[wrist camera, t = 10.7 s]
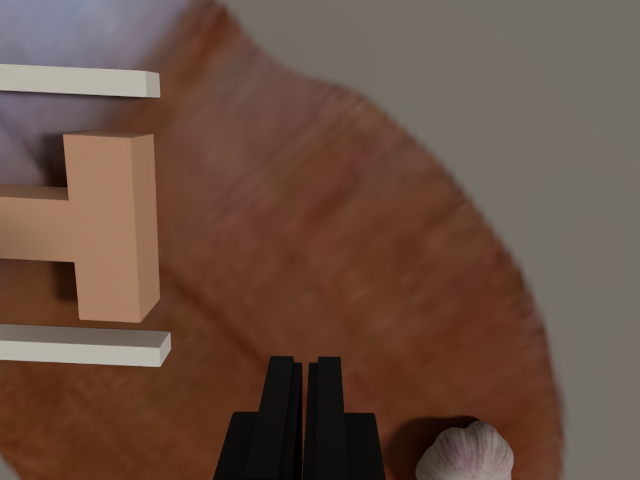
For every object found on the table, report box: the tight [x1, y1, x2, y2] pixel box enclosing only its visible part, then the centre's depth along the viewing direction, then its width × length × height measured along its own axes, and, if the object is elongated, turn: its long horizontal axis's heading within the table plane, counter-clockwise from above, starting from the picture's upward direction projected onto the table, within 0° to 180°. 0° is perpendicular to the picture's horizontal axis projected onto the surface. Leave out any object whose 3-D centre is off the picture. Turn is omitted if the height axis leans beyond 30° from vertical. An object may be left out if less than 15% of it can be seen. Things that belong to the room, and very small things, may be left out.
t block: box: [0, 131, 160, 323], centre depth 32 cm, size 12×12×4 cm
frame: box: [0, 64, 171, 367], centre depth 33 cm, size 20×15×2 cm
